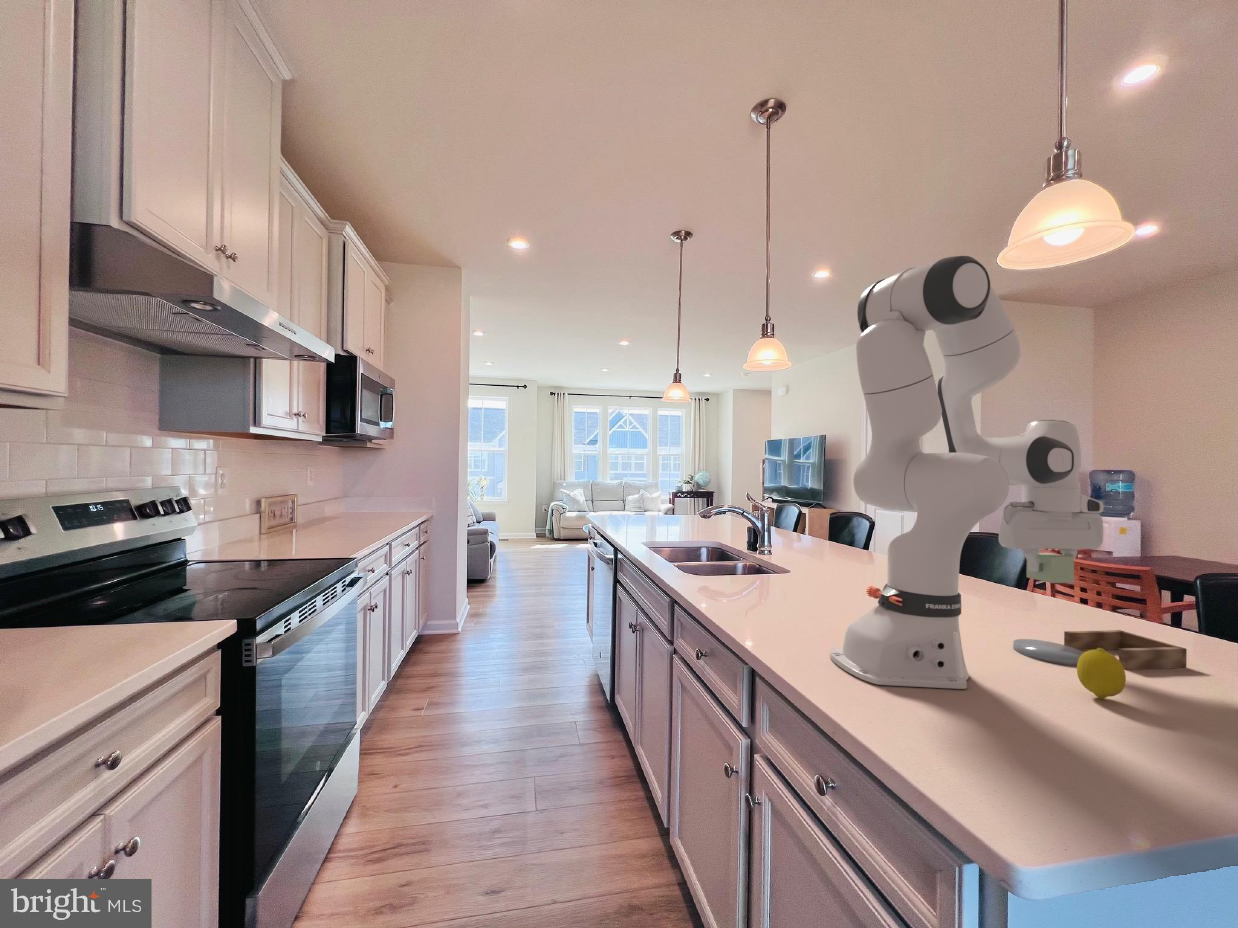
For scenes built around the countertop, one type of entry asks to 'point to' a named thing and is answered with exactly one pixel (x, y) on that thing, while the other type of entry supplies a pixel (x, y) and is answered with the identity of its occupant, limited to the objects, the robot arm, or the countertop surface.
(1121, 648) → the cubby
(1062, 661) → the grey round glossy part
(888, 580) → the robot arm
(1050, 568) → the cube
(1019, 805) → the countertop surface
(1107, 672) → the lemon
